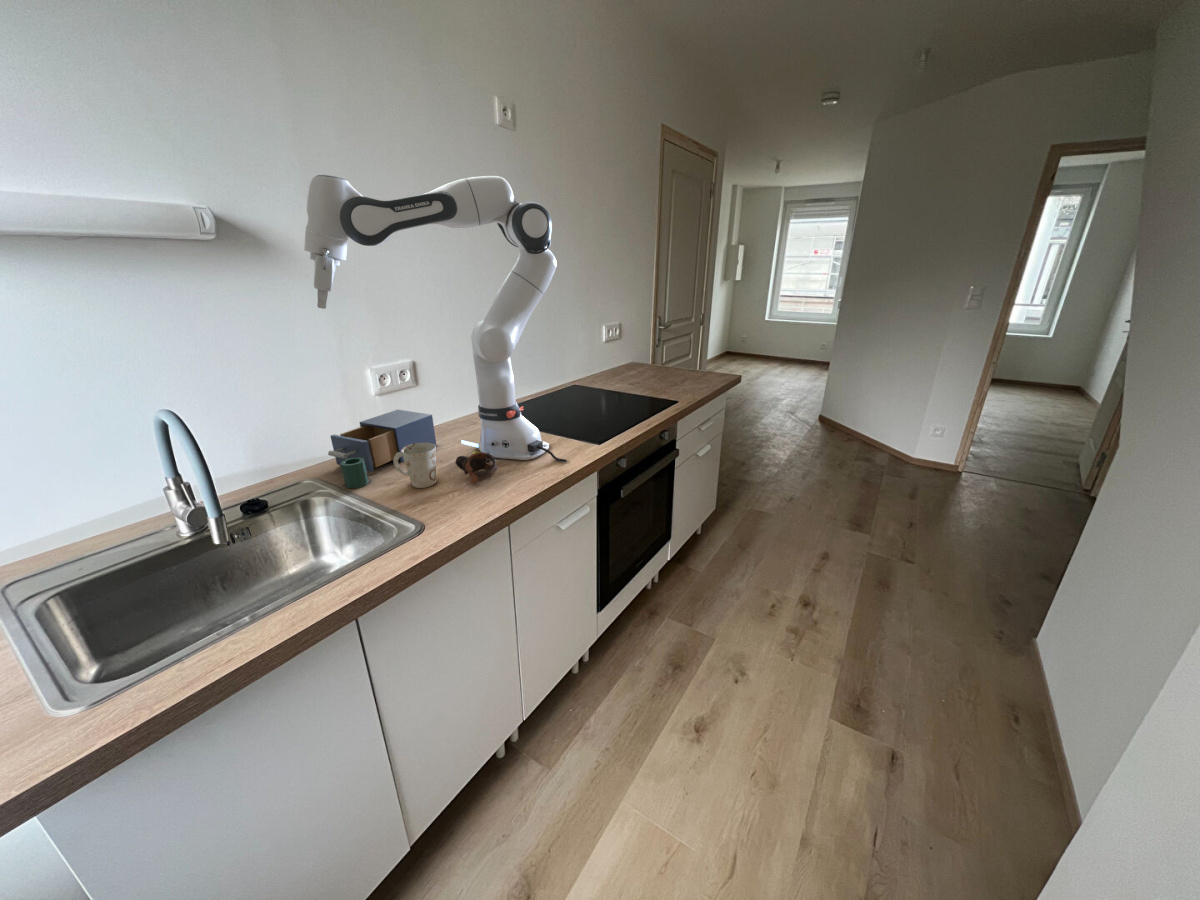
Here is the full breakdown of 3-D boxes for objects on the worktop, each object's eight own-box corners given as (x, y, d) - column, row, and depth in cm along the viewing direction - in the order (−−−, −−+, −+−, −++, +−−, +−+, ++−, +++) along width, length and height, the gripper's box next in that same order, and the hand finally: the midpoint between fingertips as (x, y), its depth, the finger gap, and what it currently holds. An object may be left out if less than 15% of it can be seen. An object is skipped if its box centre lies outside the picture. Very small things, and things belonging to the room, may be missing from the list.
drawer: (357, 478, 121) (350, 447, 118) (323, 470, 126) (315, 440, 123) (408, 455, 136) (403, 427, 133) (375, 448, 141) (370, 422, 138)
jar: (373, 481, 121) (368, 459, 118) (355, 489, 116) (350, 466, 114) (358, 478, 123) (353, 456, 120) (341, 486, 118) (335, 463, 116)
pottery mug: (502, 471, 128) (503, 453, 122) (491, 498, 122) (490, 480, 115) (462, 459, 128) (460, 441, 122) (448, 486, 122) (445, 467, 115)
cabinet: (401, 462, 133) (395, 428, 129) (366, 454, 139) (359, 422, 135) (436, 446, 146) (432, 414, 142) (402, 439, 151) (397, 409, 147)
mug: (430, 491, 115) (424, 455, 112) (386, 487, 118) (379, 451, 114) (446, 477, 123) (441, 443, 119) (405, 474, 125) (399, 440, 122)
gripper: (341, 253, 104) (336, 313, 107) (340, 251, 120) (336, 304, 124) (309, 244, 100) (305, 307, 104) (312, 244, 117) (308, 298, 120)
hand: (321, 305), depth 114 cm, fingers open, 8 cm apart
